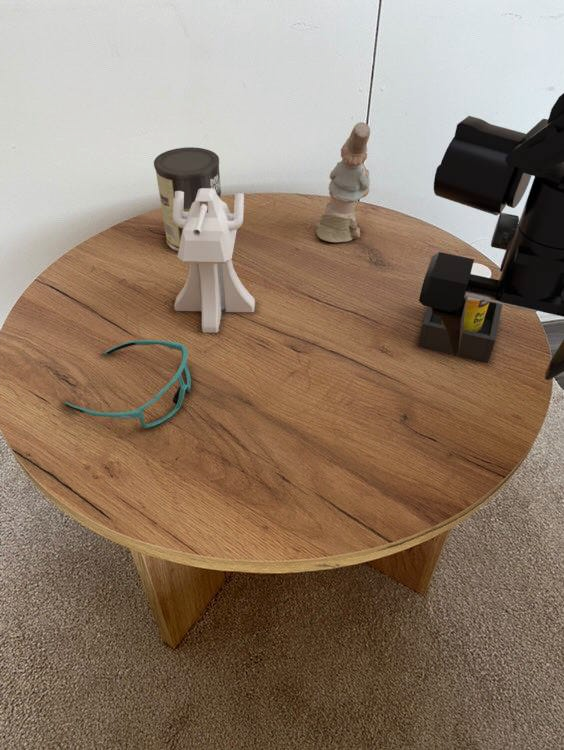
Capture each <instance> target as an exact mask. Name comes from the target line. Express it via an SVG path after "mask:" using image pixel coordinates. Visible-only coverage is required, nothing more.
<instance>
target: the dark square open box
mask: <svg viewBox="0 0 564 750" xmlns="http://www.w3.org/2000/svg"><path fill="white" fill-rule="evenodd" d="M502 308H503V305H502V304H497V303H493V302H489V305H488V308H487V312H486V315H485V318H484V321H483V324H482V328H481V331H480V333H476V332H472V331H468V330H463V332H462V339H461V343H460V347H459V351H458V354H457V356H459V357H462V358H467V359H471V360H475V361H479V362H483V363H489V361H490V359H491V355H492V353H493V349H494V346H495V343H496V340H497V334H498V330H499V326H500V325H499V324H500V319H501V315H502ZM422 321H423V322H422V324H421V330H420V333H419V339H418V344H417V346H418V347H422V348H426V349H429V350H434V351H437V352H441V353H446V354H449V355H452V350H451V346H450V341H449V337H448V333H447V331H446V328H445V326H444V325H441V317H440V316H438V315H434V314H433V313H432V312H431V307H427V310H426V312H425V315H424V318H423V320H422Z"/></svg>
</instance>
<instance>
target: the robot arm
mask: <svg viewBox="0 0 564 750" xmlns="http://www.w3.org/2000/svg"><path fill="white" fill-rule="evenodd" d="M532 177H534V178H533V181H532V183H531V187H530V189H529V192H528V195H527V198H526V201H525V204H524V207H523V210H522V211H521V212H522V213H521V215H520V216H519V215H516V214H510V213H506V212H503V210H504V209H505V208H506V206H507V207H509V208H512V209H515V208H516V207H517V206H518V205H519V203H520V202H521V201H522V199H523V197H524V195H525V193H526V191H527V189H528V187H529V184H530V182H531V179H532ZM433 193H434V195H435V196H436V197H439V198H442V199H446V200H448V201H451V202H455V203H458V204H460V205H463V206H466V207H470V208H472V209H475V210H478V211H482V212H484V213H487V214H490V215H494V216H498V218H497V221H496V225H495V227H494V231H493V234H492V237H491V242H490V247H491V248H493V249H499V250H504V251H505V252H504V254H503V257H502V260H501V263H500V268H499V272H501V273H500V276H499V279H496V278H487V277H482V276H478V275H473V274H471V270H472V266H473V263H475V262H474V261H475V259H474V258H470V257H465V256H461V255H456V254H452V253H447V252H442V251H438V252H437V253H435V254H433V255H432V256H431V258H430V261H429V264H428V266H427V270H426V272H425V275H424V278H423V282H422V286H421V290H420V293H419V298H418V302H419V303H420V304H421V305H422V306H424V307H427V308H428V307H431V312H432V313H433V314H434V315H438V316H440V317H441V319H442V321H443V324H444V326H445V328H446V331H447V333H448V337H449V341H450V346H451V350H452V354H451V355H452V356H453V357H457V356H458V355H457V354H458V351H459V347H460V343H461V339H462V332H463V325H464V318H465V311H466V304H467V298H468V297H471V298H475V299H480V300H484V301H488V302H493V303H497V304H502V306H507V307H511V308H515V309H519V310H523V311H529V312H532V313H536V312H539V313H540V312H541V313H545V314H550V315H554V316H557V317H563V318H564V92H563V93H562V94H560V96H558V97H557V100H556V101H555V102H554V104H553V106H552V107H551V109H550V112H549V116H548V118H541V120H539V122H537V123H536V124H535V126H533V127H532V128H531V129H530V130H529V131H528V132H526V133H525V132H522V131H518V130H514V129H510V128H506V127H503V126H499V125H495V124H492V123H489V122H487V121H486V120H484V119H481V118H479V117H475V116H471V115H468V116H467V117H465V118H464V119H462V120H461V121H460V122H458V123H456V128H455V132H454V136H453V137H452V138H451V141H450V142H449V144H448V146H447V148H446V150H445V152H444V154H443V157H442V159H441V161H440V164H439V165H438V166H437V167H436V170H435V173H434V179H433ZM563 372H564V339H563V340H562V341H561V343H560V345H559V346H558V347H557V349H556V351H555V353H554V354H553V356H552V357H551V359H550V361H549V363H548V366H547V368H546V370H545V373H544V380H546V381H550V380H552V379H554V378H555V377H557V376H559V375H560V374H562V373H563Z"/></svg>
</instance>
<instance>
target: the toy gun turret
mask: <svg viewBox="0 0 564 750" xmlns="http://www.w3.org/2000/svg"><path fill="white" fill-rule="evenodd" d="M233 202H234V204H233V205H234V206H233V212H231V211H230V208H229V206H228V203H226V202H225V201H223V200H222V198H221V199H220V198H219V197H218V195H217V193H216V191H215V190H214V189H211V188H201V189H199V190H198V192H197V196H196V199H195V201H194V202H193V203H192V205H191V208H190V210H189V212H185V211H183V207H184V192H182V191H175V198H174V199H173V221H174V223H175V224H176V225H177V226H178V227H180V228H183V231H182V235H181V240H180V246H179V252H178V251H177V258H178V259H179V260H180V261H181V262H183V263H184V264H189V269H188V270H189V271H188V272H189V273H188V276H187V279H186V282H185V284H184V286H183V287H182V289H181V291H180V292H179V293H178V294H177V296H176V298H175V301H174V306H173V307H174V311H176V312H201V331H202V332H203V333H206V334H207V333H210V334H215V333H219V330H220V324H221V320H222V314H225V313H254V312H255V308H256V300H255V297H254V296H253V295H252V294H251V293H249V291H248V290H247V289H246V287H245V286H244V285H243V283H242V281H241V280H240V278H239V276H238V274H237V272H236V270H235V268H234V265H233V260H232V259H233V253H234V249H235V248H234V247H235V242H236V237H237V231H238V229H240V228H241V226H242V225H243V223H244V213H245V194H244V193H243V192H235V193H234V201H233Z"/></svg>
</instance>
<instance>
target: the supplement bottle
mask: <svg viewBox="0 0 564 750" xmlns="http://www.w3.org/2000/svg"><path fill="white" fill-rule="evenodd" d="M471 274H473V275H478V276H482V277H487V278H491V277H492V271H491V269H490V268H489V267H487V266H486V265H484V264H482V263H478V262H473V266H472V270H471ZM491 279H492V278H491ZM488 305H489V302H488V301H484V300H480V299H475V298H471V297H468V298H467V304H466V311H465V318H464V325H463V330H468V331H472V332H476V333H480V331H481V328H482V324H483V321H484V318H485V315H486V312H487V308H488ZM441 325H444V324H443V321H442V319H441Z"/></svg>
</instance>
